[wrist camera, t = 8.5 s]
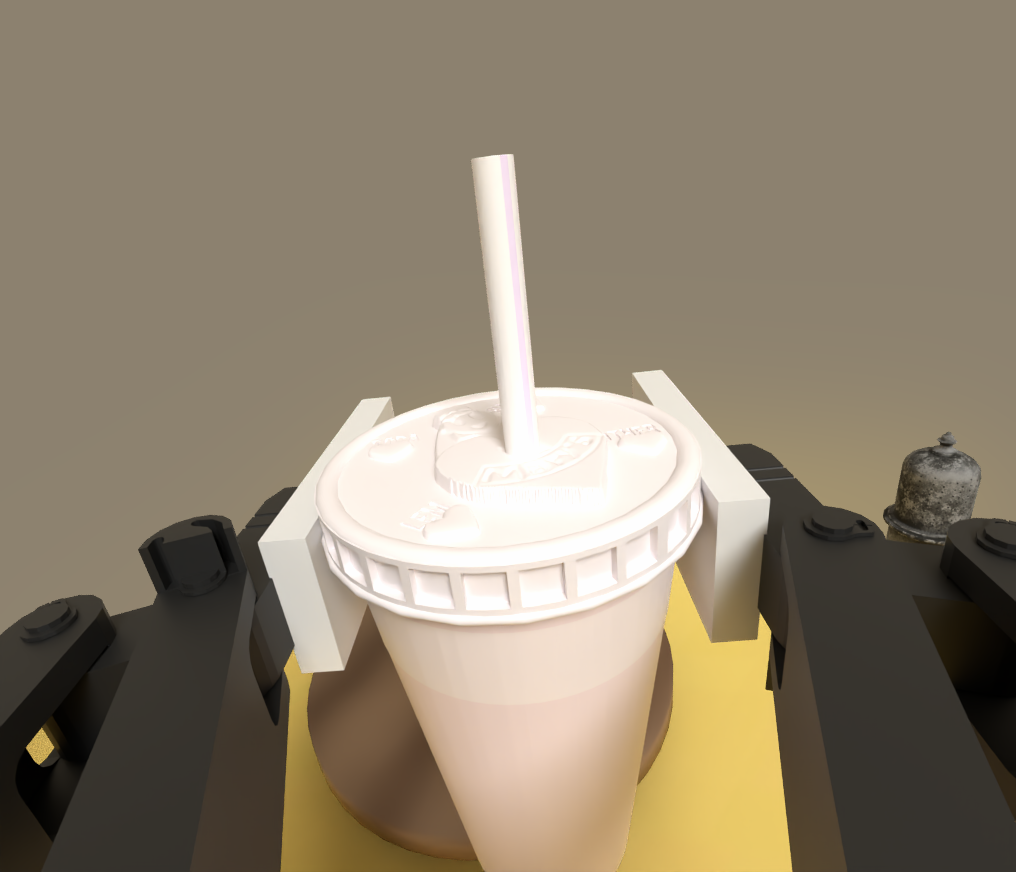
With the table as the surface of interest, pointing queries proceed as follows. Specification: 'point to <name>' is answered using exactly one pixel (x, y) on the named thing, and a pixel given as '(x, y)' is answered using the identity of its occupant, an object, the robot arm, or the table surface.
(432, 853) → the turntable
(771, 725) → the table surface
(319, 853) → the table surface
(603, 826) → the smoothie
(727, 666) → the table surface
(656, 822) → the table surface
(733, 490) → the robot arm
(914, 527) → the salt shaker
